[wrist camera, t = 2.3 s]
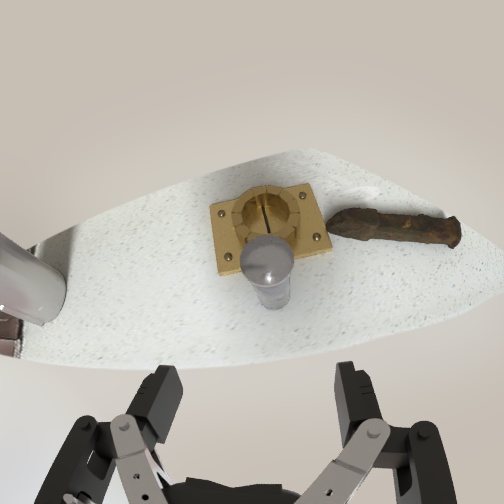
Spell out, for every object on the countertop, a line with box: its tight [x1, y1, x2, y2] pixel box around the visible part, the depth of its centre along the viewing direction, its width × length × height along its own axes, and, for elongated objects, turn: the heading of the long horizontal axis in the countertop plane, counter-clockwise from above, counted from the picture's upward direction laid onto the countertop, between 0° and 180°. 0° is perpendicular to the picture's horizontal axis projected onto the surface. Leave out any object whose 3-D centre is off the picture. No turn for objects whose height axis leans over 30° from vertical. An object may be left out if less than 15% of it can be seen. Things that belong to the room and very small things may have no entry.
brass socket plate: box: [209, 184, 333, 276], centre depth 34 cm, size 14×10×4 cm
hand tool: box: [326, 208, 462, 249], centre depth 31 cm, size 19×4×5 cm, turn 82°
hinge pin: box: [240, 235, 294, 310], centre depth 27 cm, size 4×4×11 cm
